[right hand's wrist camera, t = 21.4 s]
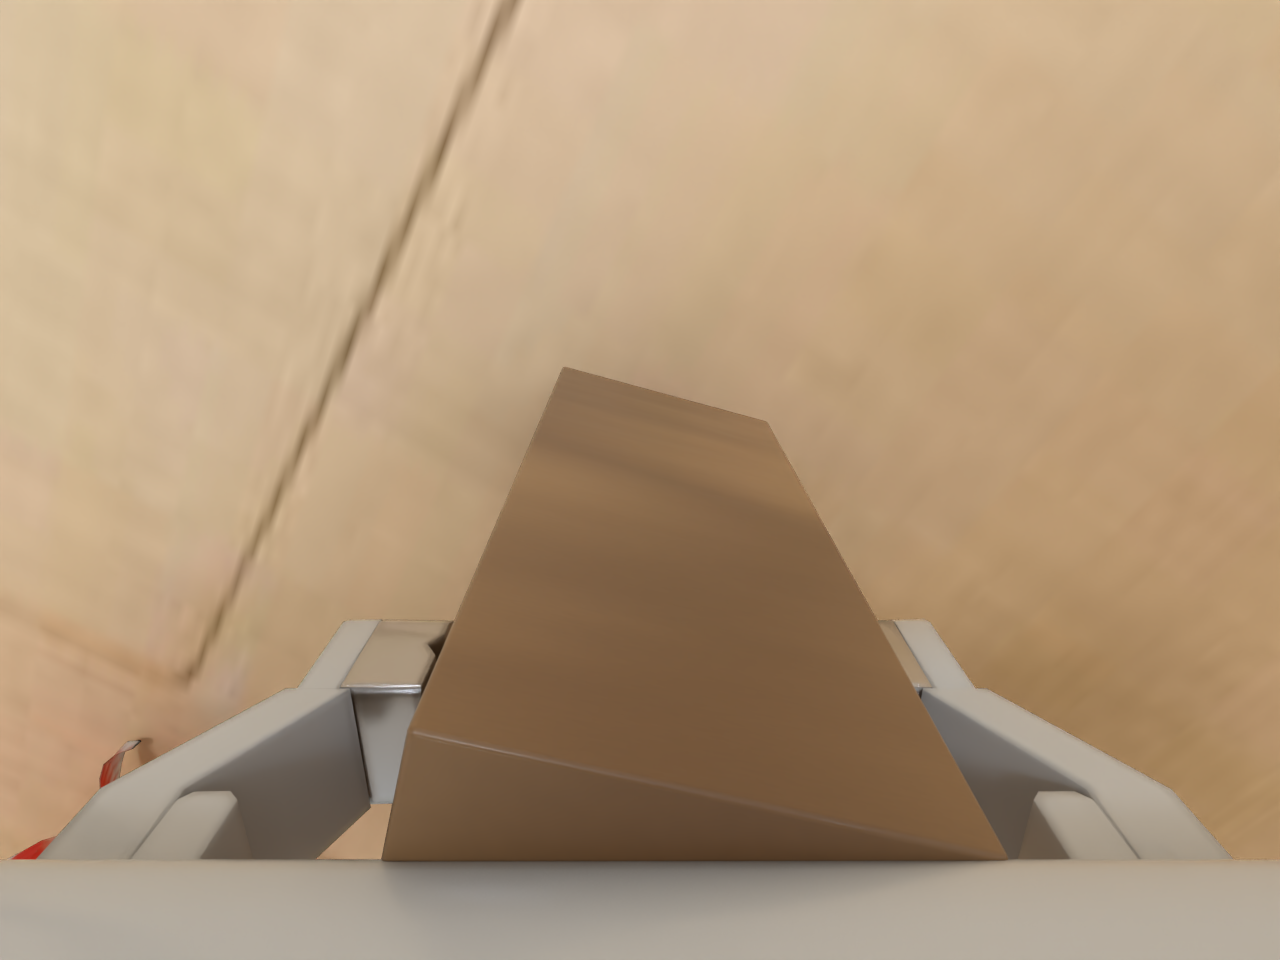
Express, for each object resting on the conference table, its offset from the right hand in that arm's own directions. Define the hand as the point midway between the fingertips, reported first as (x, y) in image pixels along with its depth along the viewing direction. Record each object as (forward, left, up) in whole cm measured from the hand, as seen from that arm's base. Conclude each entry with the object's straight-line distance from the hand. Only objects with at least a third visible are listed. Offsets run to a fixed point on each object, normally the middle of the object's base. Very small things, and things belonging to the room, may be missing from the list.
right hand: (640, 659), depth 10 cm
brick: (0, 0, -6) cm, 6 cm away
